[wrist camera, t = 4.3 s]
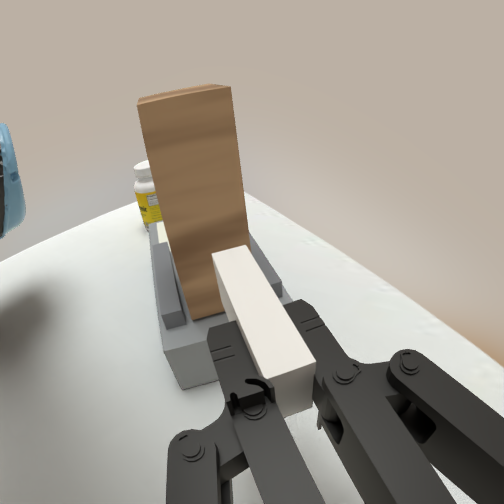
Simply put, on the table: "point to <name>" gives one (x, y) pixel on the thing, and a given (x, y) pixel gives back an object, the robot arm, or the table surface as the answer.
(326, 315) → the table surface
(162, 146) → the block
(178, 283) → the grey stand base
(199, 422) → the table surface
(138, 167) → the supplement bottle
